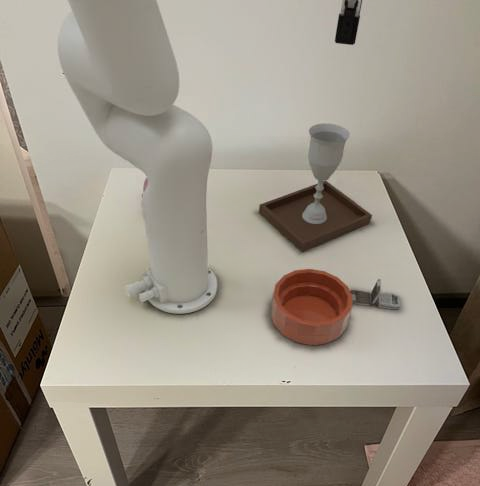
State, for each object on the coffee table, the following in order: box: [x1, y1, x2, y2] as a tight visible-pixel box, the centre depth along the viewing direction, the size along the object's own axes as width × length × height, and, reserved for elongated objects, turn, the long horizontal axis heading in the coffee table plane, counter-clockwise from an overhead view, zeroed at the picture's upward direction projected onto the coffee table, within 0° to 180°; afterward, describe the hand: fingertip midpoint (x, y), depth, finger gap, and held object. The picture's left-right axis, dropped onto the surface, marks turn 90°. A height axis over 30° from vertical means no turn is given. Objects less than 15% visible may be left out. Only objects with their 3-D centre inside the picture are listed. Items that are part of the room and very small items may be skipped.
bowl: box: [270, 268, 354, 346], centre depth 80 cm, size 13×13×5 cm
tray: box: [258, 180, 373, 253], centre depth 99 cm, size 18×15×2 cm
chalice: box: [302, 123, 351, 224], centre depth 93 cm, size 7×7×18 cm
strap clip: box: [350, 278, 401, 310], centre depth 83 cm, size 8×3×4 cm, turn 80°
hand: (346, 33), depth 80 cm, fingers open, 9 cm apart
